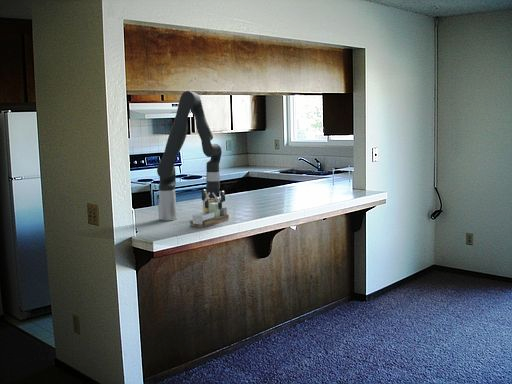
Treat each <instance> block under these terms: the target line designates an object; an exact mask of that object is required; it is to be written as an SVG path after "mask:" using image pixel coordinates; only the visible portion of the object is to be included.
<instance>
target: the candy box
mask: <svg viewBox="0 0 512 384" xmlns="http://www.w3.org/2000/svg"><path fill="white" fill-rule="evenodd" d="M207 195H208V194H207V193H206V196H207ZM208 201H209V204H210V203H219V202H218V201H217V200H216V198H210V199H209V200H208ZM204 211H207V212H209V208H206V207H205V201H203V200H202V212H204Z"/></svg>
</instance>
